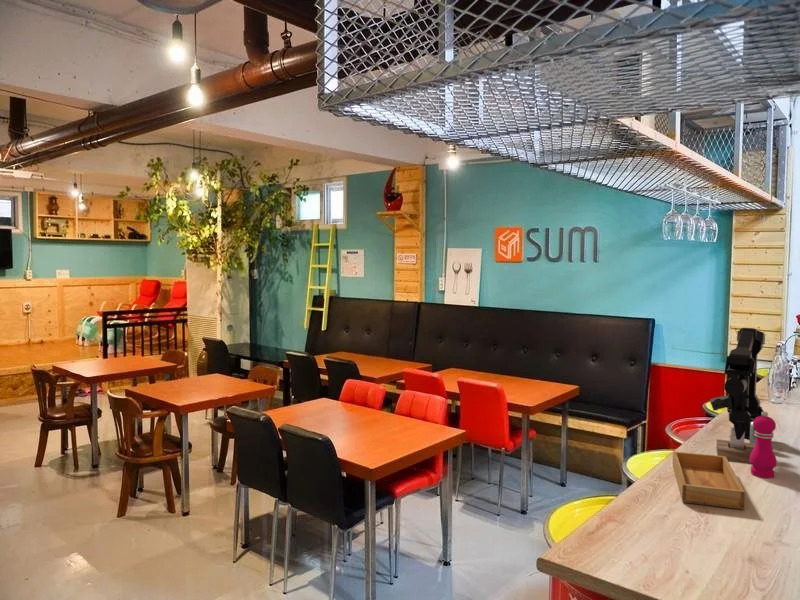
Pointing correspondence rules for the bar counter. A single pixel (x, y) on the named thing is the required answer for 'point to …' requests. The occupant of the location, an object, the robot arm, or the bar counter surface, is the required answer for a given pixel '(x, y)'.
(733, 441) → the square bit
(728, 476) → the tray
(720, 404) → the robot arm
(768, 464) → the pepper mill
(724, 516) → the bar counter surface
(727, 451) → the bore block
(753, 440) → the round bit
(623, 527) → the bar counter surface
